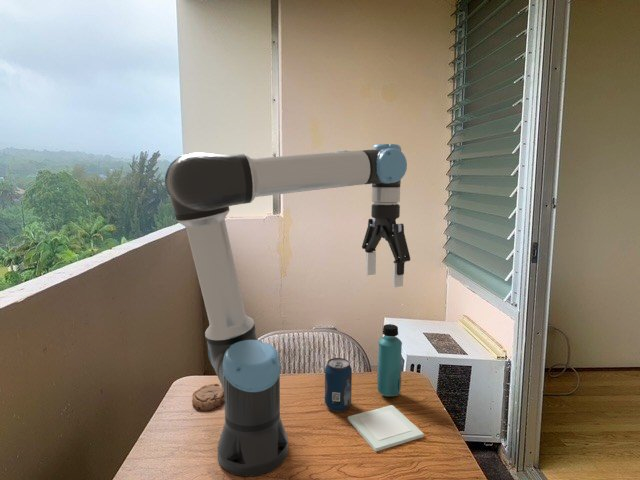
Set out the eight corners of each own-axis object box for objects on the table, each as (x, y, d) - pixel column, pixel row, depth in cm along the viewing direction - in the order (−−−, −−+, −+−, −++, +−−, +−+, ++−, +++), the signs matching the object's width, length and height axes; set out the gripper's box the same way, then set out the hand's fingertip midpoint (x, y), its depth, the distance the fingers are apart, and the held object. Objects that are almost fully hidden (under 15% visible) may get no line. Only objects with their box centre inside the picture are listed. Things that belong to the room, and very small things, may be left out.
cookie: (187, 413, 105) (187, 402, 104) (195, 391, 115) (194, 381, 115) (227, 410, 106) (227, 400, 105) (231, 389, 116) (231, 379, 116)
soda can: (327, 397, 112) (327, 355, 110) (352, 400, 111) (353, 358, 109) (322, 411, 105) (322, 367, 103) (349, 414, 104) (350, 370, 102)
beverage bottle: (400, 403, 109) (403, 331, 106) (375, 400, 111) (377, 329, 107) (400, 390, 116) (403, 322, 112) (377, 388, 117) (379, 320, 114)
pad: (375, 451, 90) (375, 448, 90) (347, 419, 102) (347, 416, 102) (423, 436, 96) (423, 433, 95) (392, 407, 107) (392, 404, 107)
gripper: (426, 206, 101) (423, 290, 104) (373, 199, 123) (371, 269, 127) (401, 207, 98) (398, 293, 101) (351, 200, 120) (350, 271, 124)
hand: (383, 280), depth 114 cm, fingers open, 13 cm apart
